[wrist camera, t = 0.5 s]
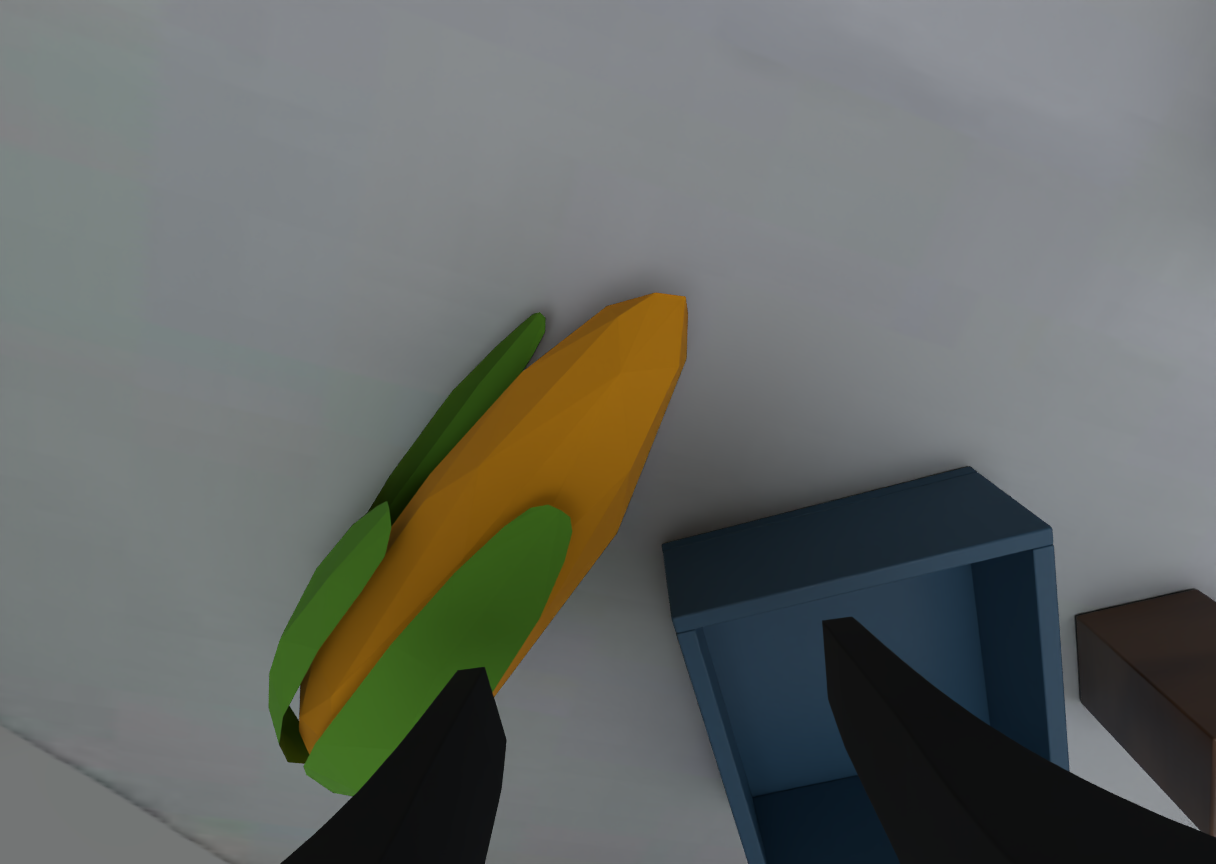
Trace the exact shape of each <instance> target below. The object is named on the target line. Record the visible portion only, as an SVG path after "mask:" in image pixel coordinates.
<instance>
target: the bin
mask: <svg viewBox="0 0 1216 864" xmlns="http://www.w3.org/2000/svg"><path fill="white" fill-rule="evenodd" d="M662 551H663V558H664V565H665V573H666V580H667V588H668V595H669V603H670V611H671V618H672V622H673V625H674V628H675V631H676V635H677V638H678V641H679V644H680V648H681V651H682V654H683V657H684V660H685V664H686V667H687V670H688V673H689V676H690V679H691V683H692V686H693V689H694V692H695V695H696V699H697V702H698V705H699V708H700V711H701V715H702V718H703V721H704V724H705V727H706V730H707V734H708V737H709V740H710V743H711V746H712V750H713V753H714V756H715V759H716V762H717V766H718V769H719V772H720V775H721V778H722V782H723V785H724V788H725V791H726V794H727V797H728V801H729V804H730V807H731V810H732V813H733V817H734V820H735V823H736V826H737V829H738V833H739V836H740V839H741V842H742V845H743V849H744V852H745V855H746V858H747V861H748V864H900V862H899V860H898V857H897V855H896V853H895V851H894V849H893V847H892V845H891V843H890V841H889V838H888V836H887V834H886V832H885V830H884V828H883V826H882V824H881V822H880V820H879V818H878V816H877V814H876V812H875V809H874V807H873V805H872V803H871V801H870V799H869V797H868V795H867V793H866V791H865V789H864V787H863V785H862V783H861V780H860V778H859V776H858V774H857V772H856V770H855V768H854V766H853V764H852V762H851V759H850V757H849V755H848V753H847V751H846V749H845V747H844V744H843V741H842V738H841V735H840V733H839V730H838V727H837V724H836V721H835V718H834V715H833V712H832V709H831V707H830V704H829V701H828V694H827V680H826V667H825V654H824V640H823V627H822V620H829V619H837V618H844V617H851V616H852V617H853V618H855V619H856V620H857V621H858V622H860V623H861V624H862V625H863V626H864V627H865V628H866V629H867V630H868V631H870V632H871V633H872V634H873V635H874V636H875V637H876V638H877V639H879V640H880V641H881V642H882V643H883V644H884V645H885V646H887V647H888V648H889V649H890V650H891V651H892V652H894V653H895V654H896V655H897V656H898V657H899V658H901V659H902V660H903V661H904V662H905V663H907V664H908V665H909V666H910V667H911V668H913V669H914V670H915V671H916V672H918V673H919V674H920V675H921V676H923V677H924V678H925V679H926V680H928V681H929V682H930V683H931V684H933V685H934V686H935V687H936V688H938V689H939V690H940V691H942V692H943V693H944V694H946V695H947V696H948V697H950V698H951V699H952V700H954V701H955V702H957V703H958V704H959V705H961V706H962V707H964V708H965V709H966V710H968V711H969V712H970V713H972V714H973V715H975V716H976V717H978V718H979V719H981V720H982V721H984V722H985V723H987V724H988V725H990V726H991V727H993V728H994V729H996V730H998V731H999V732H1001V733H1003V734H1004V735H1006V736H1007V737H1009V738H1011V739H1012V740H1014V741H1015V742H1017V743H1019V744H1020V745H1022V746H1024V747H1025V748H1027V749H1029V750H1031V751H1032V752H1034V753H1036V754H1038V755H1039V756H1041V757H1043V758H1045V759H1046V760H1048V761H1050V762H1052V763H1054V764H1056V765H1058V766H1060V767H1061V768H1063V769H1065V770H1067V771H1069V758H1068V743H1067V729H1066V715H1065V700H1064V686H1063V671H1062V657H1061V642H1060V628H1059V614H1058V599H1057V585H1056V570H1055V556H1054V546H1053V532H1052V528H1051V526H1049V525H1048V524H1047V523H1045V522H1044V521H1043V520H1041V519H1040V518H1038V517H1037V516H1036V515H1034V514H1033V513H1032V512H1030V511H1029V510H1028V509H1026V508H1025V507H1024V506H1022V505H1021V504H1020V503H1018V502H1017V501H1016V500H1014V499H1013V498H1012V497H1010V496H1009V495H1007V494H1006V493H1005V492H1003V491H1002V490H1001V489H999V488H998V487H997V486H995V485H994V484H993V483H991V482H990V481H989V480H987V479H986V478H985V477H983V476H982V475H981V474H979V473H977V471H976V470H974V469H973V468H972V467H965V468H961V469H957V470H953V471H949V472H945V473H941V474H937V475H933V476H929V477H925V478H921V479H917V480H913V481H910V482H906V483H902V484H898V485H894V486H890V487H886V488H882V489H878V490H874V491H870V492H866V493H862V494H858V495H854V496H850V497H846V498H842V499H838V500H835V501H831V502H827V503H823V504H819V505H815V506H811V507H807V508H803V509H799V510H795V511H791V512H787V513H783V514H779V515H775V516H771V517H767V518H763V519H759V520H756V521H752V522H748V523H744V524H740V525H736V526H732V527H728V528H724V529H720V530H716V531H712V532H708V533H704V534H700V535H696V536H692V537H688V538H684V539H680V540H677V541H673V542H669V543H665V544H662Z"/></svg>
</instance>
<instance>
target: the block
mask: <svg viewBox="0 0 1216 864" xmlns="http://www.w3.org/2000/svg"><path fill="white" fill-rule="evenodd" d="M1076 624H1077V642H1078V659H1079V676H1080V693H1081V703H1082V704H1083V705H1084V706H1085V707H1086V708H1087V709H1088V711H1089V712H1090V713H1091V714H1092V715H1093V716H1094V717H1095V718H1096V719H1097V720H1098V721H1099V722H1100V723H1101V725H1102V726H1103V727H1104V728H1105V729H1106V730H1107V731H1108V732H1109V733H1110V734H1111V735H1112V736H1113V737H1114V738H1115V740H1116V741H1117V742H1118V743H1119V744H1120V745H1121V746H1122V747H1123V748H1124V749H1125V750H1126V751H1127V752H1128V753H1129V755H1130V756H1131V757H1132V758H1133V759H1134V760H1135V761H1136V762H1137V763H1138V764H1139V765H1140V766H1141V767H1142V768H1143V770H1144V771H1145V772H1146V773H1147V774H1148V775H1149V776H1150V777H1151V778H1152V779H1153V780H1154V781H1155V782H1156V783H1157V785H1158V786H1159V787H1160V788H1161V789H1162V790H1163V791H1164V792H1165V793H1166V794H1167V795H1168V796H1169V797H1170V799H1171V800H1172V801H1173V802H1174V803H1175V804H1176V805H1177V806H1178V807H1179V808H1180V809H1181V810H1182V811H1183V812H1184V814H1185V815H1186V816H1187V817H1188V818H1189V819H1190V820H1191V821H1192V822H1193V823H1194V824H1195V825H1196V826H1197V827H1198V829H1199V830H1200V831H1201V832H1204V833H1206V834H1209V835H1211V836H1214V837H1216V602H1215V601H1214V600H1212V599H1211V598H1209V597H1208V596H1206V595H1205V594H1203V593H1202V592H1200V591H1199V590H1196V589H1193V590H1189V591H1185V592H1180V593H1176V594H1171V595H1167V596H1162V597H1158V598H1153V599H1149V600H1144V601H1140V602H1135V603H1131V604H1126V605H1122V606H1118V607H1113V608H1109V609H1104V610H1100V611H1095V612H1091V613H1086V614H1082V615H1078V616H1076Z"/></svg>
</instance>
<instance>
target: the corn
mask: <svg viewBox="0 0 1216 864" xmlns="http://www.w3.org/2000/svg"><path fill="white" fill-rule="evenodd" d="M545 319H546V318H545V317H544V316H543V315H542V314H541V313H540V312H539V313H535V314H532V315H531V316H530V317H529V318H528V319H527V320H525V321H524V322H523V323H522V324H521V325H520V326H518V327H517V328H516V329H515V330H514V331H513V332H512V333H511V334H509V335H508V336H507V337H506V338H505V339H504V340H503V341H502V342H501V343H499V344H498V345H497V346H496V347H495V348H494V349H493V350H492V351H491V352H490V353H489V354H488V355H487V356H486V357H485V358H484V359H483V360H482V361H481V362H480V363H479V364H478V366H477V367H476V368H475V369H474V370H473V371H472V372H471V373H470V374H469V375H468V376H467V377H466V378H465V379H464V380H463V381H462V382H461V383H460V384H459V385H458V386H457V387H456V388H455V389H454V390H453V391H452V392H451V393H450V395H449V396H448V397H447V399H446V400H445V402H444V403H443V404H442V406H441V407H440V408H439V410H438V411H437V412H436V414H435V415H434V417H433V418H432V419H431V421H430V422H429V423H428V425H427V426H426V427H425V429H424V430H423V431H422V433H421V434H420V436H419V437H418V438H417V440H416V441H415V442H414V444H413V445H412V446H411V448H410V449H409V451H408V452H407V453H406V455H405V456H404V457H403V459H402V460H401V461H400V463H399V464H398V466H397V467H396V468H395V470H394V471H393V472H392V474H391V475H390V476H389V478H388V480H387V481H386V483H385V485H384V486H383V488H382V490H381V491H380V493H379V495H378V496H377V498H376V500H375V501H374V503H373V504H372V506H371V508H370V509H369V511H368V513H367V514H366V515H365V516H363V517H362V518H361V519H359V520H358V521H357V522H356V523H354V524H353V525H352V526H351V528H350V529H349V530H348V531H347V532H346V534H345V535H344V536H343V537H342V538H341V540H340V541H339V542H338V543H337V544H336V546H335V547H334V548H333V549H332V550H331V552H330V553H329V554H328V555H327V557H326V558H325V559H324V560H323V561H322V563H321V564H320V565H319V566H318V567H317V569H316V570H315V572H314V574H313V576H312V578H311V580H310V582H309V584H308V586H307V588H306V590H305V591H304V593H303V595H302V597H301V599H300V601H299V603H298V605H297V607H296V609H295V611H294V613H293V615H292V616H291V618H290V620H289V622H288V624H287V626H286V628H285V630H284V632H283V634H282V636H281V639H280V641H279V644H278V648H277V651H276V654H275V657H274V660H273V663H272V667H271V670H270V673H269V710H270V714H271V718H272V721H273V725H274V728H275V732H276V735H277V739H278V742H279V745H280V747H281V749H282V751H283V753H284V755H285V757H286V759H287V761H288V762H292V763H305V764H304V769H305V772H306V775H308V776H309V777H311V778H312V779H314V780H315V781H316V782H318V783H319V784H321V785H322V786H324V787H325V788H327V789H328V790H330V791H331V792H333V793H337V794H343V795H349V796H354V795H355V794H356V793H357V792H358V791H359V790H360V788H361V787H362V786H363V785H364V784H365V783H366V782H367V781H368V780H369V779H370V777H371V776H372V775H373V774H374V773H375V772H376V771H377V769H378V768H379V767H380V766H381V765H382V764H383V763H384V761H385V760H386V759H387V758H388V757H389V756H390V755H391V753H392V752H393V751H394V750H395V749H396V748H397V746H398V745H399V744H400V743H401V741H402V740H403V739H404V738H405V737H406V735H407V734H408V733H409V732H410V730H411V729H412V728H413V727H414V725H415V724H416V723H417V722H418V720H419V719H420V718H421V716H422V715H423V714H424V713H425V711H426V710H427V709H428V707H429V706H430V705H431V704H432V702H433V701H434V700H435V698H436V697H437V696H438V695H439V693H440V692H441V691H442V689H443V688H444V687H445V686H446V684H447V683H448V682H449V680H450V679H451V678H452V677H453V675H454V674H455V673H456V672H457V670H464V669H471V668H478V667H485V669H486V672H487V676H488V679H489V682H490V686H491V689H492V693H493V696H494V697H495V695H496V694H497V693H498V691H499V690H500V689H501V687H502V686H503V685H504V683H505V682H506V681H507V679H508V678H509V677H510V675H511V674H512V673H513V671H514V670H515V669H516V667H517V666H518V665H519V663H520V662H521V661H522V659H523V658H524V657H525V655H526V654H527V653H528V651H529V650H530V649H531V647H532V646H533V645H534V643H535V642H536V641H537V639H538V638H539V637H540V635H541V634H542V633H543V631H544V630H545V629H546V627H547V626H548V625H549V623H550V622H551V621H552V619H553V618H554V616H555V615H556V614H557V612H558V611H559V610H560V608H561V607H562V606H563V604H564V603H565V602H566V600H567V599H568V598H569V596H570V595H571V594H572V592H573V591H574V590H575V588H576V587H577V586H578V584H579V583H580V582H581V580H582V579H583V578H584V576H585V575H586V574H587V572H588V571H589V570H590V568H591V567H592V566H593V564H594V563H595V562H596V560H597V559H598V558H599V556H600V555H601V554H602V552H603V551H604V550H605V548H606V547H607V546H608V544H609V543H610V542H611V540H612V539H613V538H614V536H615V535H616V534H617V532H618V529H619V527H620V524H621V522H622V519H623V517H624V514H625V512H626V509H627V507H628V504H629V502H630V499H631V497H632V494H633V492H634V489H635V487H636V484H637V482H638V479H639V477H640V474H641V472H642V469H643V467H644V464H645V462H646V459H647V457H648V454H649V452H650V449H651V446H652V444H653V441H654V439H655V436H656V434H657V431H658V429H659V426H660V424H661V421H662V419H663V416H664V414H665V411H666V409H667V406H668V404H669V401H670V399H671V396H672V394H673V391H674V389H675V386H676V384H677V381H678V379H679V376H680V374H681V371H682V369H683V366H684V364H685V361H686V357H687V327H688V310H687V303H686V297H685V296H678V295H670V294H662V293H652V294H649V295H645V296H641V297H638V298H634V299H631V300H627V301H623V302H620V303H616V304H613V305H609V306H606V307H605V308H604V309H602V310H601V311H600V312H599V313H597V314H596V315H595V316H593V317H592V318H591V319H590V320H588V321H587V322H586V323H584V324H583V325H582V326H581V327H579V328H578V329H577V330H575V331H574V332H573V333H572V334H570V335H569V336H568V337H566V338H565V339H564V340H563V341H561V342H560V343H559V344H557V345H556V346H555V347H554V348H552V349H551V350H550V351H548V352H547V353H546V354H545V355H543V356H542V357H541V358H539V359H538V360H537V361H536V362H534V363H533V364H532V365H530V366H529V367H528V368H527V369H525V370H524V368H525V367H526V365H527V364H528V362H529V360H530V359H531V357H532V356H533V354H534V352H535V350H536V348H537V346H538V345H539V343H540V341H541V339H542V337H543V335H544V333H545ZM523 370H524V371H523ZM522 371H523V372H522ZM299 686H300V713H299V720H298V719H297V717H296V716H295V714H294V712H293V711H292V709H291V708H290V706H289V705H290V703H291V701H292V699H293V697H294V695H295V693H296V691H297V690H298V688H299Z"/></svg>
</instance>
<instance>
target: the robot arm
mask: <svg viewBox="0 0 1216 864" xmlns="http://www.w3.org/2000/svg"><path fill="white" fill-rule="evenodd" d="M822 627H823V640H824V654H825V667H826V680H827V694H828V701H829V704H830V707H831V709H832V712H833V715H834V718H835V721H836V724H837V727H838V730H839V733H840V735H841V738H842V741H843V744H844V747H845V749H846V751H847V753H848V755H849V757H850V759H851V762H852V764H853V766H854V768H855V770H856V772H857V774H858V776H859V778H860V780H861V783H862V785H863V787H864V789H865V791H866V793H867V795H868V797H869V799H870V801H871V803H872V805H873V807H874V809H875V812H876V814H877V816H878V818H879V820H880V822H881V824H882V826H883V828H884V830H885V832H886V834H887V836H888V838H889V841H890V843H891V845H892V847H893V849H894V851H895V853H896V855H897V857H898V860H899V862H900V864H1216V837H1214V836H1211V835H1209V834H1206V833H1204V832H1201V831H1199V830H1196V829H1194V828H1191V827H1189V826H1186V825H1183V824H1181V823H1178V822H1176V821H1173V820H1171V819H1168V818H1166V817H1164V816H1161V815H1159V814H1157V813H1154V812H1152V811H1150V810H1148V809H1145V808H1143V807H1141V806H1139V805H1137V804H1134V803H1132V802H1130V801H1128V800H1126V799H1123V798H1121V797H1119V796H1117V795H1115V794H1113V793H1110V792H1108V791H1106V790H1104V789H1102V788H1100V787H1098V786H1096V785H1094V784H1092V783H1090V782H1088V781H1086V780H1084V779H1082V778H1080V777H1078V776H1076V775H1075V774H1073V773H1071V772H1069V771H1067V770H1065V769H1063V768H1061V767H1060V766H1058V765H1056V764H1054V763H1052V762H1050V761H1048V760H1046V759H1045V758H1043V757H1041V756H1039V755H1038V754H1036V753H1034V752H1032V751H1031V750H1029V749H1027V748H1025V747H1024V746H1022V745H1020V744H1019V743H1017V742H1015V741H1014V740H1012V739H1011V738H1009V737H1007V736H1006V735H1004V734H1003V733H1001V732H999V731H998V730H996V729H994V728H993V727H991V726H990V725H988V724H987V723H985V722H984V721H982V720H981V719H979V718H978V717H976V716H975V715H973V714H972V713H970V712H969V711H968V710H966V709H965V708H964V707H962V706H961V705H959V704H958V703H957V702H955V701H954V700H952V699H951V698H950V697H948V696H947V695H946V694H944V693H943V692H942V691H940V690H939V689H938V688H936V687H935V686H934V685H933V684H931V683H930V682H929V681H928V680H926V679H925V678H924V677H923V676H921V675H920V674H919V673H918V672H916V671H915V670H914V669H913V668H911V667H910V666H909V665H908V664H907V663H905V662H904V661H903V660H902V659H901V658H899V657H898V656H897V655H896V654H895V653H894V652H892V651H891V650H890V649H889V648H888V647H887V646H885V645H884V644H883V643H882V642H881V641H880V640H879V639H877V638H876V637H875V636H874V635H873V634H872V633H871V632H870V631H868V630H867V629H866V628H865V627H864V626H863V625H862V624H861V623H860V622H858V621H857V620H856V619H855V618H853V617H852V616H851V617H844V618H837V619H829V620H822ZM505 751H506V737H505V733H504V730H503V726H502V723H501V720H500V716H499V713H498V710H497V706H496V703H495V699H494V696H493V693H492V689H491V686H490V682H489V679H488V676H487V672H486V669H485V667H478V668H471V669H464V670H457V672H456V673H455V674H454V675H453V677H452V678H451V679H450V680H449V682H448V683H447V684H446V686H445V687H444V688H443V689H442V691H441V692H440V693H439V695H438V696H437V697H436V698H435V700H434V701H433V702H432V704H431V705H430V706H429V707H428V709H427V710H426V711H425V713H424V714H423V715H422V716H421V718H420V719H419V720H418V722H417V723H416V724H415V725H414V727H413V728H412V729H411V730H410V732H409V733H408V734H407V735H406V737H405V738H404V739H403V740H402V741H401V743H400V744H399V745H398V746H397V748H396V749H395V750H394V751H393V752H392V753H391V755H390V756H389V757H388V758H387V759H386V760H385V761H384V763H383V764H382V765H381V766H380V767H379V768H378V769H377V771H376V772H375V773H374V774H373V775H372V776H371V777H370V779H369V780H368V781H367V782H366V783H365V784H364V785H363V786H362V787H361V788H360V790H359V791H358V792H357V793H356V794H355V795H354V796H353V797H352V798H351V799H350V800H349V801H348V802H347V803H346V804H345V805H344V806H343V807H342V808H341V809H340V810H339V811H338V812H337V813H336V814H335V815H334V816H333V817H332V818H331V819H330V820H329V821H328V822H327V823H326V824H325V825H324V826H323V827H321V828H320V829H319V830H318V831H317V832H316V833H315V834H314V835H313V836H312V837H310V838H309V839H308V840H307V841H306V842H305V843H304V844H302V845H301V846H300V847H299V848H298V849H297V850H296V851H294V852H293V853H292V854H291V855H290V856H289V857H288V858H286V859H285V860H284V861H283V862H282V863H281V864H485V860H486V856H487V851H488V847H489V843H490V838H491V834H492V830H493V825H494V821H495V816H496V812H497V807H498V803H499V798H500V793H501V788H502V780H503V771H504V761H505Z"/></svg>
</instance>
